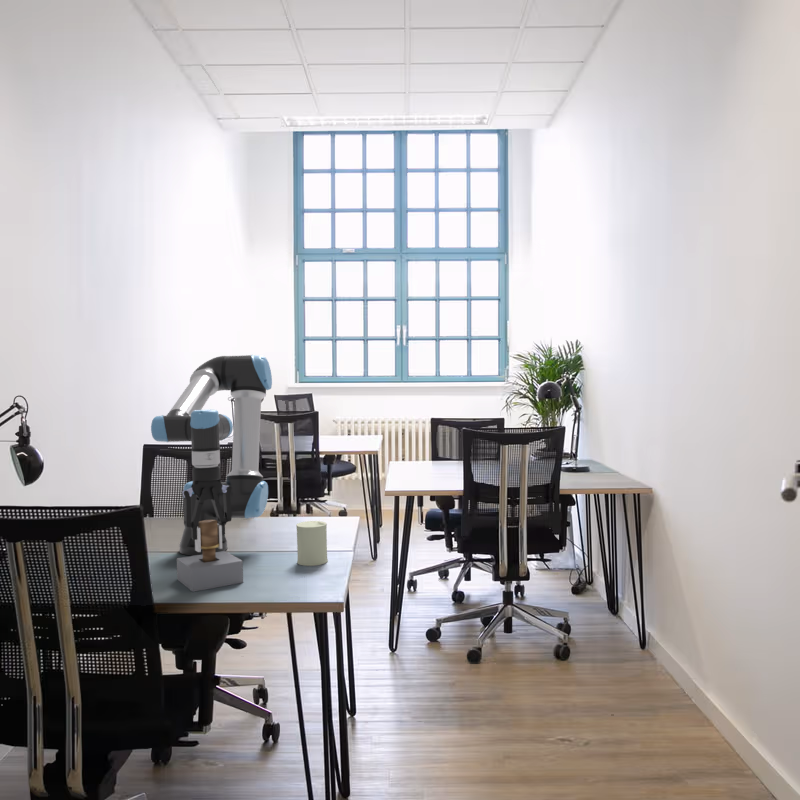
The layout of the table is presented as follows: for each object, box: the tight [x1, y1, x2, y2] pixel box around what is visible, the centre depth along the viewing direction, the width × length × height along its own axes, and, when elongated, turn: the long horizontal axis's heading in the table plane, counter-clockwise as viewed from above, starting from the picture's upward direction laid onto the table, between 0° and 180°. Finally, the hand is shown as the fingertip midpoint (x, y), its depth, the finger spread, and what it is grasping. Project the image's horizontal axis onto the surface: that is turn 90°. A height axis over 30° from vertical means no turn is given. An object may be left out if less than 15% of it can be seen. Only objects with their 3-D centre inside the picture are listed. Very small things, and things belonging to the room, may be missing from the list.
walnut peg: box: [199, 520, 219, 563], centre depth 203 cm, size 5×5×13 cm
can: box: [296, 520, 329, 567], centre depth 222 cm, size 9×9×12 cm
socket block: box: [176, 550, 244, 593], centre depth 204 cm, size 14×14×6 cm
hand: (208, 549), depth 203 cm, fingers closed on walnut peg, 5 cm apart
